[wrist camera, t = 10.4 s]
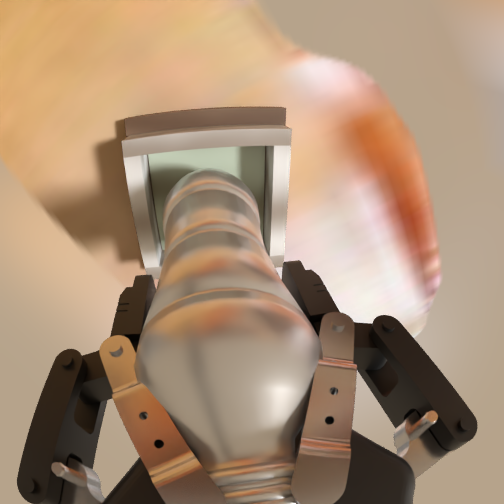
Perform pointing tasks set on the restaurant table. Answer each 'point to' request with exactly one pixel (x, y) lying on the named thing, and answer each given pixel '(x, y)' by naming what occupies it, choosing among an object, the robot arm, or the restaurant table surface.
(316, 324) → the robot arm
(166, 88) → the restaurant table surface
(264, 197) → the socket board
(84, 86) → the restaurant table surface
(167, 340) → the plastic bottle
